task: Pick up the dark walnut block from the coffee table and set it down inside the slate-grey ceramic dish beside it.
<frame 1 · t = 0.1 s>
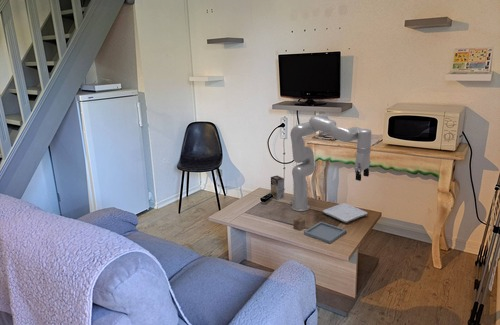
hand: (362, 178, 214), 31 cm above the table, tool pointing down, fingers open, 9 cm apart
slate dish: (325, 233, 215), on the table
coffee box: (277, 197, 273), on the table
walnut block: (299, 228, 223), on the table
salad plate: (344, 216, 238), on the table
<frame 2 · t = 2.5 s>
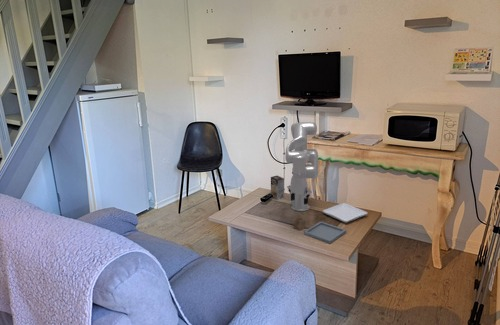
hand: (299, 202, 217), 18 cm above the table, tool pointing down, fingers open, 9 cm apart
nothing on the table moved.
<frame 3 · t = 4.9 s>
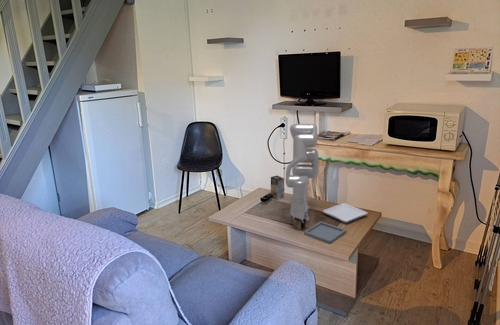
hand: (299, 226, 222), 1 cm above the table, tool pointing down, fingers closed on walnut block, 5 cm apart
walnut block: (299, 228, 223), on the table, touching gripper
everything else where it was.
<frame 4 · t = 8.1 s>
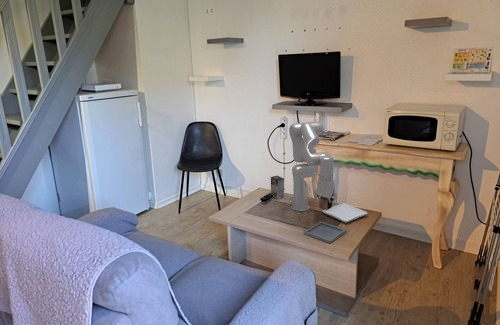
hand: (325, 206, 210), 17 cm above the table, tool pointing down, fingers closed on walnut block, 5 cm apart
walnut block: (325, 208, 210), point 16 cm above the table, touching gripper
everything else where it was.
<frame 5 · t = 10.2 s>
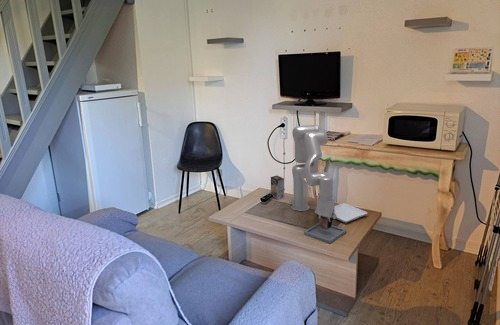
hand: (325, 225, 213), 5 cm above the table, tool pointing down, fingers closed on walnut block, 5 cm apart
walnut block: (325, 227, 213), point 4 cm above the table, touching gripper
everything else where it was.
when the fingers open (3 cm above the table, at t = 11.6 s): walnut block stays where it is, resting on slate dish.
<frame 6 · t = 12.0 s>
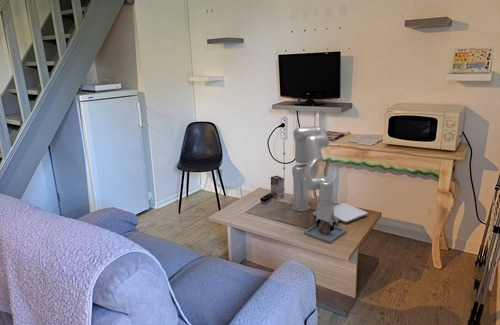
hand: (325, 228, 214), 3 cm above the table, tool pointing down, fingers open, 8 cm apart
walnut block: (324, 232, 215), point 1 cm above the table, touching slate dish
everything else where it was.
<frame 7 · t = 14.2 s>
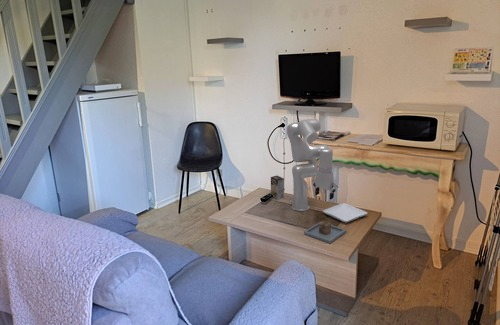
hand: (324, 196, 213), 22 cm above the table, tool pointing down, fingers open, 9 cm apart
nothing on the table moved.
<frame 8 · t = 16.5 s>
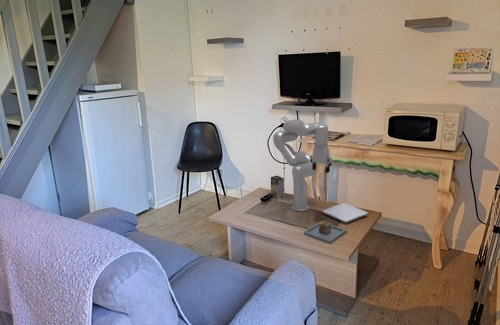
hand: (320, 171, 226), 32 cm above the table, tool pointing down, fingers open, 9 cm apart
nothing on the table moved.
at the end: walnut block inside the target area on the slate dish (0.1 cm from its centre), point 0.6 cm above the slate dish's base; walnut block tilted 0°; the gripper is holding nothing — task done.
